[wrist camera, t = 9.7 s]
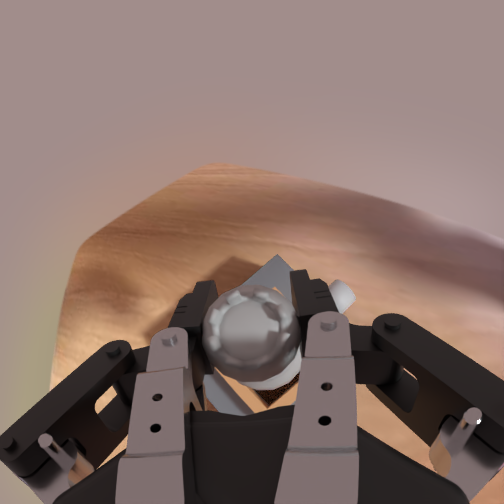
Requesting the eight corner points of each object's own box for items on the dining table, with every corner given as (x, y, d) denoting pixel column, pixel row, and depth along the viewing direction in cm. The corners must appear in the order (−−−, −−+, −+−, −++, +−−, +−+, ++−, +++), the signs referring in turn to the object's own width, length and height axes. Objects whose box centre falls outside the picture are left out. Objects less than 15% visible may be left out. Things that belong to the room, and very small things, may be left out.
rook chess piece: (251, 297, 17) (225, 233, 10) (320, 335, 16) (350, 299, 9) (209, 362, 16) (147, 348, 9) (278, 405, 15) (272, 431, 7)
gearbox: (297, 254, 35) (299, 225, 28) (384, 340, 30) (407, 330, 23) (184, 351, 32) (159, 345, 25) (267, 447, 26) (262, 466, 20)
